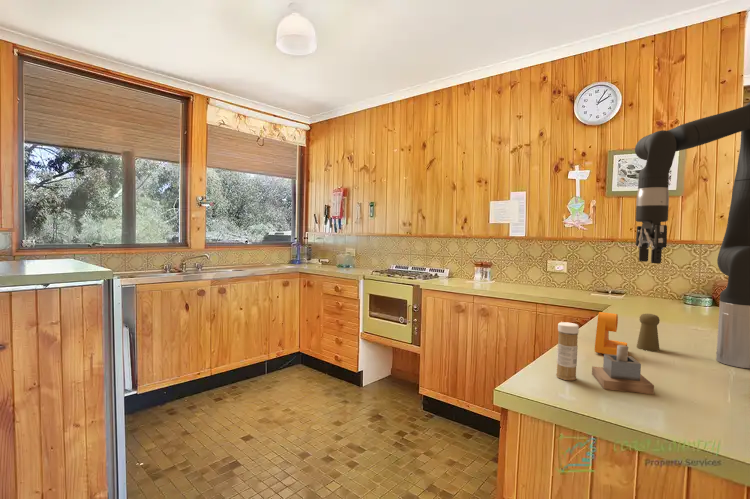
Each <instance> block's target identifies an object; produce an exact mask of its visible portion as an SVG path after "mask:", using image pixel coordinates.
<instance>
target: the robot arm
mask: <svg viewBox="0 0 750 499" xmlns="http://www.w3.org/2000/svg"><path fill="white" fill-rule="evenodd" d="M737 133H740V145H739V146H740V147H739V153H738V159H737V166H736V172H735V176H734V182H733V186H732V194H731V200H730V206H729V211H728V218H727V223H726V228H725V233H724V237H723V239H722V243H721V246H720V248H719V251H718V255H717V260H716V261H717V262H716V263H717V267H718V269H719V271H720V272H721V273H722V274H723V275H725V276H727V277H728V278H727V285H726V287H725V289H722V291H721V292H720V294H719V305H718V306H719V309H718V322H717V323H718V324H717V343H716V352H715V354H716V358H715V359H716V361H717V362H719V363H721V364H724V365H728V366H731V367H735V368H736V367H737V368H742V369H743V368H744V369H750V101H749V102H748V103H747V104H746V105H743V106H742V107H741V106H740V107H738V108H735V109H731V110H729V111H728V110H727V111H723V112H720V113H716V114H712V115H709V116H705V117H702V118H699V119H696V120H695V119H694V120H692V121H689V122H686V123H683V124H680V125H678V126H676V127H674V128H671V129H668V130H666V129H665V130H663V129H661V130H658V131H655V132H653V133H650V134H648V135H645V136H644V137H642V138H640V139H639V140H638V141H637V142H636V145H635V148H634V153H635V155H636V156H637V158H639V159H641V160H644V161H646V163H645V166H644V167H643V168H642V169H641V170H639V173H638V179H637V180H638V183H637V193H636V203H635V204H636V206H635V222H637V223H641V225H637V226H636V235H635V236H636V237H635V246H636V247H637V248H638V249H639V250H638V261H639V262H643V263H644V262H645V263H647V262H649V248H651V253H650V254H651V256H650V262H651V264H657V265H658V264H661V263H662V254H663V250H664V248H667V246H668V245H667V244H668V225H667V224H662V223H666V222H668V221H669V208H670V207H669V205H670V192H669V183H670V171H671V168H672V165H673V162H674V158H675V156H676V152H679V151H684V150H687V149H688V150H689V149H693V148H696V147H699V146H703V145H706V144H708V143H712V142H714V141H717V140H720V139H722V138H726V137H728V136H732V135H735V134H737Z"/></svg>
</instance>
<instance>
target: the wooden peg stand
mask: <svg viewBox="0 0 750 499" xmlns="http://www.w3.org/2000/svg"><path fill="white" fill-rule="evenodd" d="M628 352H629V346H628V345H627V346H624V345H617V360H616V361H627V359H628V356H629V353H628ZM591 375H592V376H593V378H594V379H595V380H596V382H598V384H599V385H600V386H601V387H602V389H604V390H611V391H612V390H613V391H620V392H629V393H637V394H640V393H641V394H647V395H655V389H654V388H655V385H654V384H653V383H652V382H650V381H649V380H648V379H647V378H646V377H645V376H643V375H642V374H641V373H640V381H633V380H624V379H614V378H610V377H609V376H608V375H607V373H606V372H605V371H604V370H603V366H602V367H601V366H593V365H592V366H591Z"/></svg>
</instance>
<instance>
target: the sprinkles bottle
mask: <svg viewBox="0 0 750 499" xmlns="http://www.w3.org/2000/svg"><path fill="white" fill-rule="evenodd" d="M579 329H580V326H579V324H577V323H574V322H573V323H572V322H567V321H566V322H565V321H560V322H559V323H558V324H557V332H558V334H557V337H558V338H557V340H558V341H557V351H556V352H557V353H556V354H557V355H556V373H555V376H556V377H557V378H558V379H561V380H564V381H575V380H576V379H577V367H578V364H577V363H578V335H579V331H580V330H579Z"/></svg>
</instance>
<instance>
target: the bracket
mask: <svg viewBox="0 0 750 499" xmlns="http://www.w3.org/2000/svg"><path fill="white" fill-rule="evenodd" d="M618 315H619V314H618V313H612V312H611V313H610V312H603V311H599V312H598V314H597V323H596V325H597V326H596V330H595V331H596V332H595V343H594V353H597V354H598V353H599V354H602V355H604V354H611V355H617V345H624V346H627V347H628V342H625V341H619V340H613V339H610V338H609V336H610V335H609V332H612V333H617V330H618V323H619V316H618Z"/></svg>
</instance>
